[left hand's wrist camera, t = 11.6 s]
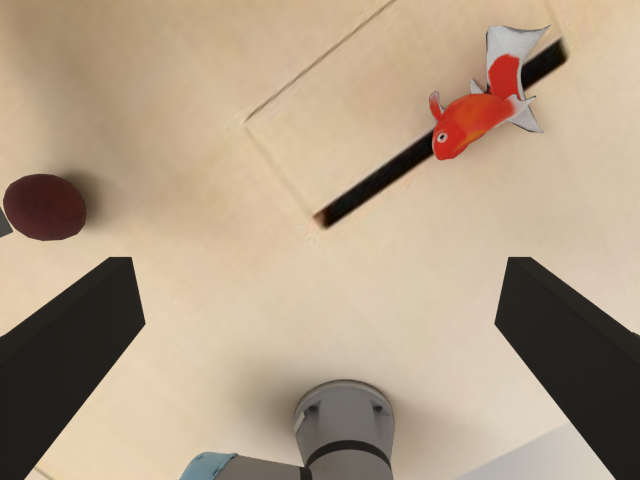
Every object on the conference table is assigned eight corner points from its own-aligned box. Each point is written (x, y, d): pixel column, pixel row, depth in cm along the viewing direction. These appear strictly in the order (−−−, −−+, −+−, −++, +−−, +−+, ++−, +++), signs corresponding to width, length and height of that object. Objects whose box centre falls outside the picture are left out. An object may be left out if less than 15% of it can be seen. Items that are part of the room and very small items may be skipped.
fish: (382, 75, 34) (473, 79, 26) (491, -1, 37) (599, -17, 30) (408, 168, 40) (486, 193, 33) (498, 96, 44) (588, 104, 36)
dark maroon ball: (64, 156, 41) (15, 166, 34) (113, 210, 43) (76, 229, 37) (21, 191, 42) (-33, 207, 36) (71, 241, 45) (28, 265, 38)
